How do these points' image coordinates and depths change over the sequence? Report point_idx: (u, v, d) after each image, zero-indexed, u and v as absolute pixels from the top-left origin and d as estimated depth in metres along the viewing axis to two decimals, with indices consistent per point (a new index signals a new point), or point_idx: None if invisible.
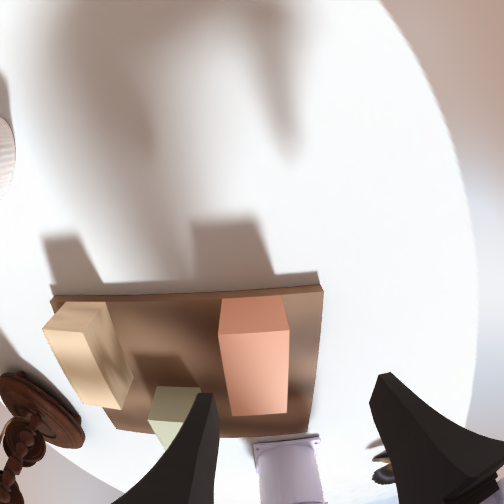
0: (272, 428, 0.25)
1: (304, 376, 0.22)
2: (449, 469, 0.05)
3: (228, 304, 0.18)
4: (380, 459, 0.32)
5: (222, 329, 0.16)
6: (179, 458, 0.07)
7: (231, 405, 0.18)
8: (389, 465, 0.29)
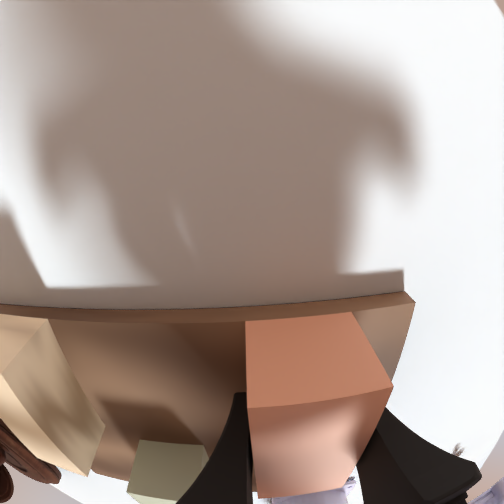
0: None
1: None
2: (406, 488, 0.05)
3: (259, 332, 0.09)
4: None
5: (255, 394, 0.07)
6: (228, 460, 0.07)
7: (259, 490, 0.09)
8: None
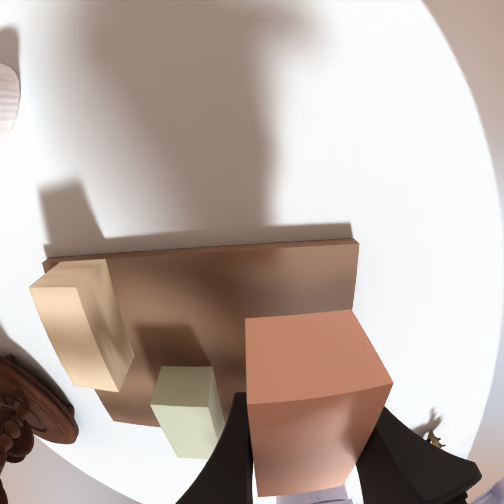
0: None
1: None
2: (406, 487, 0.05)
3: (258, 329, 0.09)
4: None
5: (255, 390, 0.07)
6: (228, 460, 0.07)
7: (259, 488, 0.09)
8: None
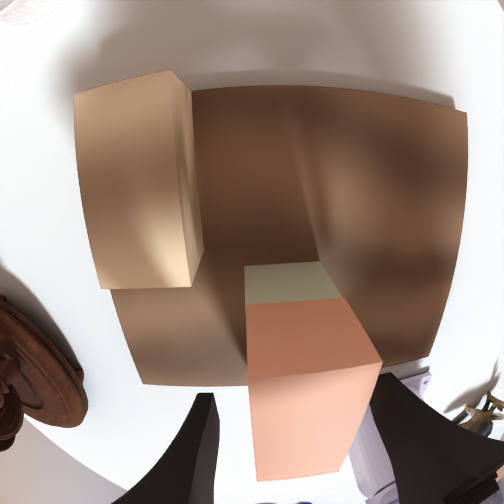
0: (394, 351, 0.17)
1: (450, 242, 0.15)
2: (449, 469, 0.05)
3: (258, 314, 0.10)
4: None
5: (255, 366, 0.08)
6: (179, 458, 0.07)
7: (257, 471, 0.10)
8: None
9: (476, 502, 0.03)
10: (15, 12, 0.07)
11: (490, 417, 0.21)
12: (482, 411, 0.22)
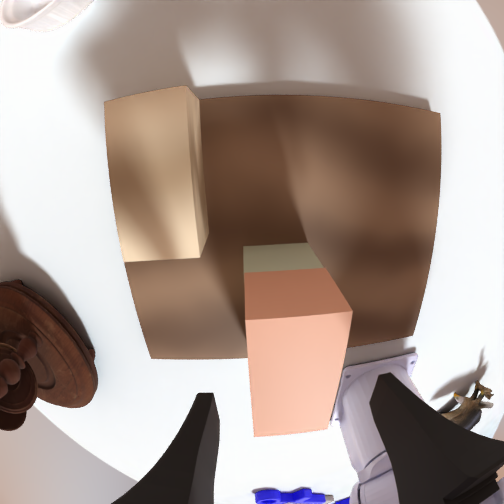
0: (379, 328, 0.20)
1: (426, 228, 0.17)
2: (449, 468, 0.05)
3: (254, 279, 0.13)
4: None
5: (251, 312, 0.10)
6: (179, 458, 0.07)
7: (254, 423, 0.12)
8: (454, 418, 0.25)
9: (476, 502, 0.03)
10: (38, 22, 0.09)
11: (479, 405, 0.24)
12: (471, 399, 0.25)
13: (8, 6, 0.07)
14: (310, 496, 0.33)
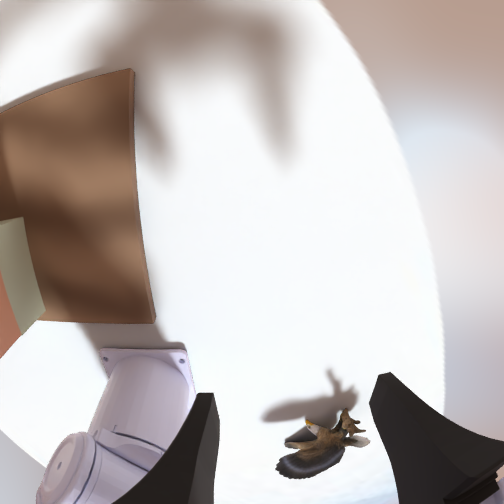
0: (104, 306, 0.19)
1: (119, 192, 0.17)
2: (448, 469, 0.05)
3: None
4: (294, 444, 0.26)
5: None
6: (179, 458, 0.07)
7: None
8: (302, 452, 0.24)
9: (476, 502, 0.03)
10: None
11: (343, 441, 0.23)
12: (330, 431, 0.24)
13: None
14: None
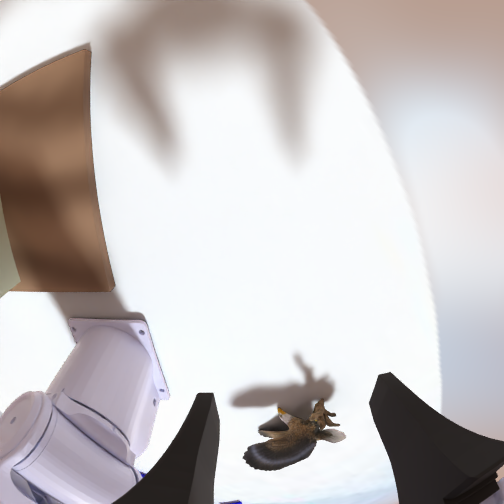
0: (67, 274, 0.18)
1: (75, 163, 0.16)
2: (448, 469, 0.05)
3: None
4: (268, 433, 0.26)
5: None
6: (179, 458, 0.07)
7: None
8: (271, 442, 0.23)
9: (476, 502, 0.03)
10: None
11: (315, 434, 0.22)
12: (303, 422, 0.24)
13: None
14: None
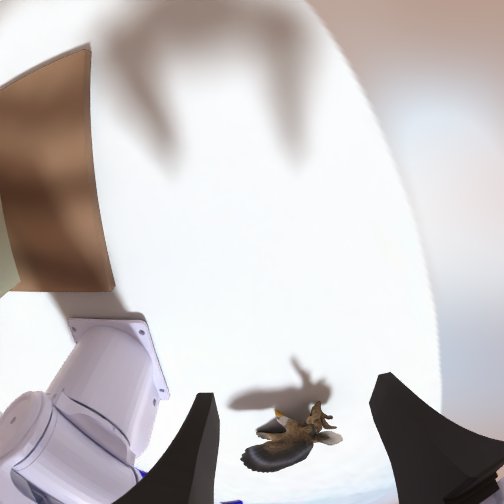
0: (67, 274, 0.18)
1: (75, 163, 0.16)
2: (448, 469, 0.05)
3: None
4: (266, 435, 0.26)
5: None
6: (179, 458, 0.07)
7: None
8: (269, 444, 0.23)
9: (476, 502, 0.03)
10: None
11: (312, 436, 0.23)
12: (300, 425, 0.24)
13: None
14: None
